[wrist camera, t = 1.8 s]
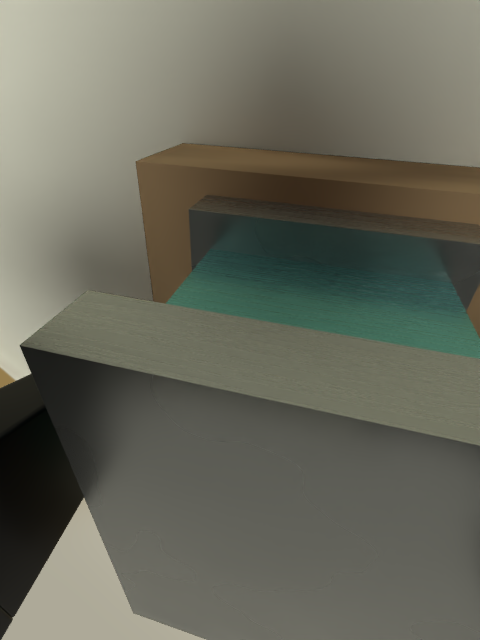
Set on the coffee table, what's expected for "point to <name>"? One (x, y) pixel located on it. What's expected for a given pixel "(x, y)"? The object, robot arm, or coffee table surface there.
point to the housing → (284, 426)
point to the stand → (289, 195)
